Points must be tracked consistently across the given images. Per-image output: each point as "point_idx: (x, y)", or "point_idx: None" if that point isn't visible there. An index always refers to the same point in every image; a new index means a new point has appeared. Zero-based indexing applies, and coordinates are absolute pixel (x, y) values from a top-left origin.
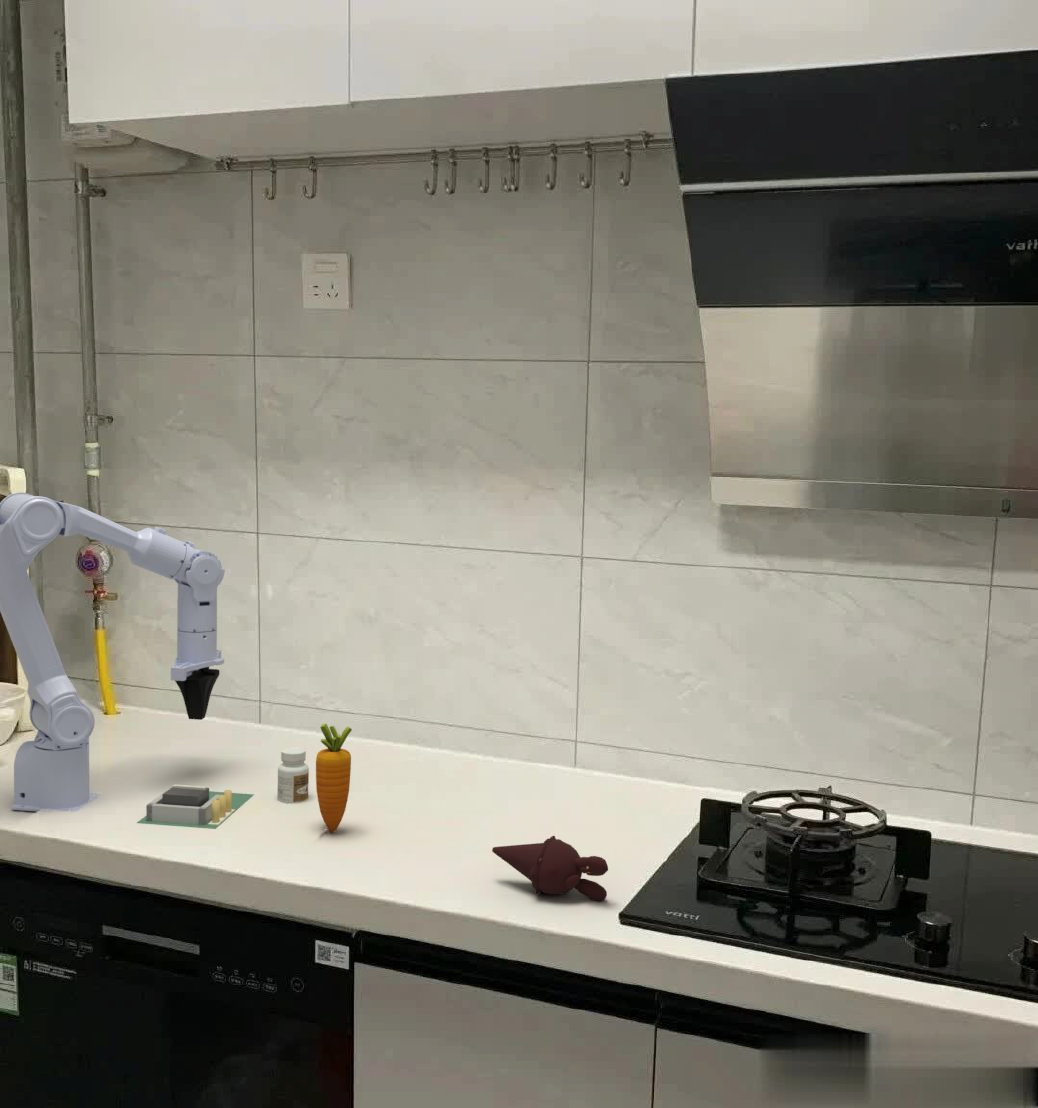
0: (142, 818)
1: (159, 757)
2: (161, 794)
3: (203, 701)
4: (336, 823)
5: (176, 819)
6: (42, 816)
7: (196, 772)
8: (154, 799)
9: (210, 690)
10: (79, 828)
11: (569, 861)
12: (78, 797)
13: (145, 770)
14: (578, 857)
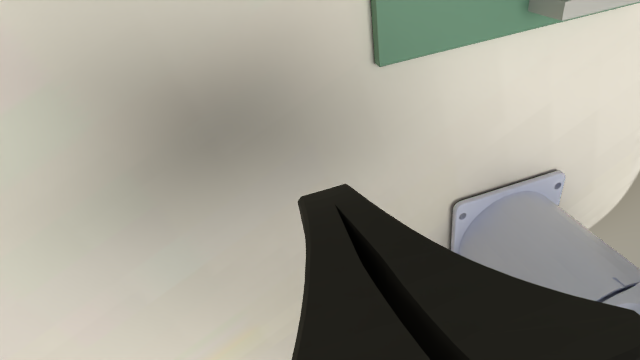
0: (618, 7)
1: (106, 320)
2: (594, 11)
3: (418, 234)
4: None
5: None
6: None
7: (169, 155)
8: (635, 1)
9: (348, 304)
10: (628, 109)
11: None
12: (545, 201)
13: (229, 269)
14: None
